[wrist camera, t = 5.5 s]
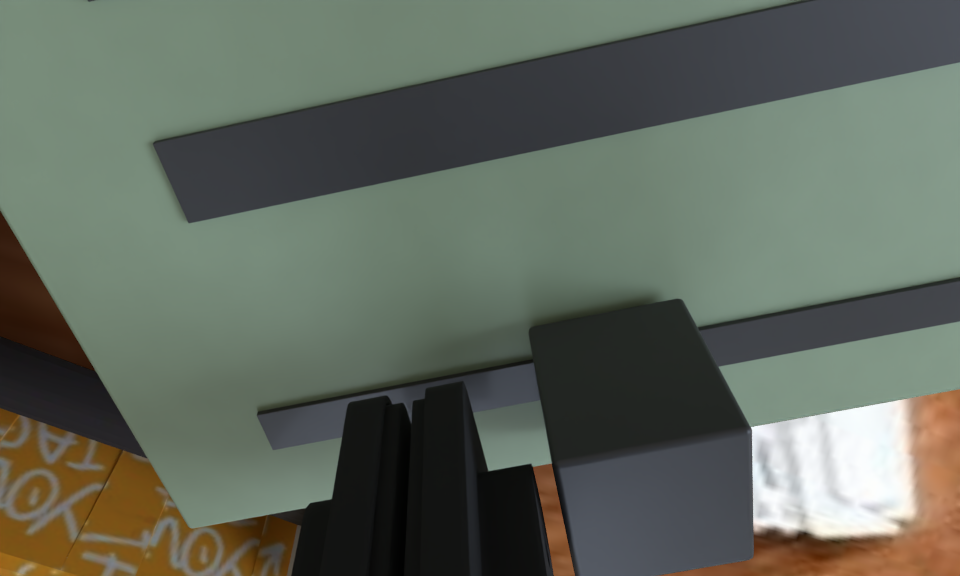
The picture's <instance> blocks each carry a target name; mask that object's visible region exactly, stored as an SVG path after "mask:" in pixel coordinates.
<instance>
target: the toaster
mask: <svg viewBox="0 0 960 576" xmlns="http://www.w3.org/2000/svg"><path fill="white" fill-rule="evenodd" d="M0 211H1V213H2V214H3V216H4V218H5V219H6V221H7V223H8V224H9V226H10V228H11V229H12V231H13V233H14V234H15V236H16V238H17V239H18V241H19V243H20V245H21V246H22V248H23V250H24V251H25V253H26V255H27V256H28V258H29V260H30V261H31V263H32V265H33V266H34V268H35V270H36V271H37V273H38V275H39V276H40V278H41V280H42V282H43V283H44V285H45V287H46V288H47V290H48V292H49V293H50V295H51V297H52V298H53V300H54V302H55V303H56V305H57V307H58V308H59V310H60V312H61V313H62V315H63V317H64V319H65V320H66V322H67V324H68V325H69V327H70V329H71V330H72V332H73V334H74V335H75V337H76V339H77V340H78V342H79V344H80V345H81V347H82V349H83V350H84V352H85V354H86V356H87V357H88V359H89V361H90V362H91V364H92V366H93V367H94V369H95V371H96V372H97V374H98V376H99V377H100V379H101V381H102V382H103V384H104V386H105V387H106V389H107V391H108V392H109V394H110V396H111V398H112V399H113V401H114V403H115V404H116V406H117V408H118V409H119V411H120V413H121V414H122V416H123V418H124V419H125V421H126V423H127V424H128V426H129V428H130V429H131V431H132V433H133V435H134V436H135V438H136V440H137V441H138V443H139V445H140V446H141V448H142V450H143V451H144V453H145V455H146V456H147V458H148V460H149V461H150V463H151V465H152V466H153V468H154V470H155V472H156V473H157V475H158V477H159V478H160V480H161V482H162V483H163V485H164V487H165V488H166V490H167V492H168V493H169V495H170V497H171V498H172V500H173V502H174V503H175V505H176V507H177V509H178V510H179V512H180V514H181V515H182V517H183V519H184V520H185V522H186V524H187V525H188V527H190V528H198V527H204V526H209V525H215V524H220V523H226V522H231V521H237V520H242V519H248V518H253V517H259V516H264V515H270V514H275V513H281V512H286V511H292V510H297V509H303V508H306V507H307V506H308V505H309V504H310V503H313V502H319V501H324V500H330V499H332V495H333V489H334V483H335V477H336V471H337V465H338V459H339V452H340V446H341V440H342V434H343V428H344V422H345V416H346V410H347V406H348V404H349V403H350V402H353V401H359V400H364V399H369V398H375V397H380V396H385V395H386V396H388V397H389V398H390V400H391V402H392V404H397V403H404V405H405V407H406V409H407V412H408V415H409V418H410V421H411V423H412V404H413V401H414V400H419V399H424V398H425V390H426V388H428V387H434V386H439V385H444V384H450V383H455V382H460V381H463V382H464V383H465V386H466V389H467V392H468V396H469V400H470V403H471V407H472V411H473V415H474V419H475V422H476V426H477V430H478V434H479V437H480V441H481V445H482V449H483V452H484V456H485V460H486V464H487V467H488V471H492V470H498V469H504V468H509V467H515V466H520V465H526V464H532V467H534V466H539V465H545V464H550V463H552V462H551V456H550V450H549V445H548V439H547V434H546V428H545V423H544V417H543V412H542V406H541V401H540V395H539V390H538V384H537V379H536V373H535V368H534V362H533V356H532V351H531V345H530V340H529V334H528V333H529V329H530V328H531V327H533V326H538V325H543V324H548V323H553V322H558V321H564V320H569V319H574V318H579V317H584V316H589V315H595V314H600V313H605V312H610V311H615V310H620V309H625V308H631V307H636V306H641V305H646V304H651V303H656V302H662V301H667V300H672V299H682V300H683V301H684V303H685V305H686V307H687V309H688V311H689V312H690V314H691V316H692V318H693V320H694V322H695V324H696V326H697V327H698V329H699V331H700V333H701V335H702V337H703V339H704V341H705V342H706V344H707V346H708V348H709V350H710V352H711V354H712V356H713V358H714V359H715V361H716V363H717V365H718V367H719V369H720V371H721V373H722V374H723V376H724V378H725V380H726V382H727V384H728V386H729V388H730V389H731V391H732V393H733V395H734V397H735V399H736V401H737V403H738V404H739V406H740V408H741V410H742V412H743V414H744V416H745V418H746V419H747V421H748V423H749V425H750V427H754V426H759V425H765V424H770V423H776V422H781V421H787V420H792V419H798V418H803V417H809V416H814V415H820V414H825V413H831V412H836V411H842V410H847V409H853V408H858V407H864V406H869V405H875V404H880V403H886V402H891V401H897V400H902V399H908V398H913V397H919V396H924V395H930V394H935V393H941V392H946V391H952V390H957V389H960V0H0Z"/></svg>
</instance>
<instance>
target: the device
mask: <svg viewBox="0 0 960 576" xmlns="http://www.w3.org/2000/svg"><path fill="white" fill-rule="evenodd" d="M305 509H306V508H303V509H297V510H292V511H286V512H281V513H275V514H270V515H264V516H259V517H253V518H248V519H242V520H237V521H231V522H226V523H220V524H215V525H209V526H204V527H198V528H190V527H188V525H187V524H186V522H185V520H184V519H183V517H182V515H181V514H180V512H179V510H178V509H177V507H176V505H175V503H174V502H173V500H172V498H171V497H170V495H169V493H168V492H167V490H166V488H165V487H164V485H163V483H162V482H161V480H160V478H159V477H158V475H157V473H156V472H155V470H154V468H153V466H152V465H151V463H150V461H149V460H148V458H147V456H146V455H145V453H144V451H143V450H142V448H141V446H140V445H139V443H138V441H137V440H136V438H135V436H134V435H133V433H132V431H131V429H130V428H129V426H128V424H127V423H126V421H125V419H124V418H123V416H122V414H121V413H120V411H119V409H118V408H117V406H116V404H115V403H114V401H113V399H112V398H111V396H110V394H109V392H108V391H107V389H106V387H105V386H104V384H103V382H102V381H101V379H100V377H99V376H98V374H97V372H95V371H92V370H90V369H87V368H84V367H82V366H79V365H76V364H73V363H71V362H68V361H65V360H63V359H60V358H57V357H55V356H52V355H49V354H46V353H44V352H41V351H38V350H36V349H33V348H30V347H28V346H25V345H22V344H19V343H17V342H14V341H11V340H9V339H6V338H3V337H1V336H0V576H291V574H292V569H293V564H294V559H295V554H296V549H297V544H298V539H299V534H300V529H301V524H302V520H303V516H304V513H305Z"/></svg>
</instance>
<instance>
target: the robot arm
mask: <svg viewBox="0 0 960 576" xmlns="http://www.w3.org/2000/svg"><path fill="white" fill-rule="evenodd" d="M291 576H554V575H553V569H552V563H551V556H550V550H549V544H548V539H547V533H546V528H545V522H544V517H543V512H542V507H541V502H540V497H539V493H538V488H537V484H536V479H535V475H534V471H533V467H532V464H526V465H520V466H515V467H509V468H504V469H498V470H492V471H488V467H487V464H486V460H485V456H484V452H483V449H482V445H481V441H480V437H479V434H478V430H477V426H476V422H475V419H474V415H473V411H472V407H471V403H470V400H469V396H468V392H467V389H466V386H465V383H464V382H463V381H460V382H455V383H450V384H444V385H439V386H434V387H428V388H426V390H425V398H424V399H419V400H414V401H413V404H412V423H411V421H410V418H409V415H408V412H407V409H406V407H405V405H404V403H397V404H392V402H391V400H390V398H389V397H388V396H386V395H385V396H380V397H375V398H369V399H364V400H359V401H353V402H350V403H349V404H348V406H347V410H346V416H345V422H344V428H343V434H342V440H341V446H340V452H339V459H338V465H337V471H336V477H335V483H334V489H333V495H332V499H330V500H324V501H319V502H313V503H310V504H309V505H308V506H307V507H306V509H305V513H304V516H303V520H302V524H301V529H300V534H299V539H298V544H297V549H296V554H295V559H294V564H293V569H292V574H291Z"/></svg>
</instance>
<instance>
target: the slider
mask: <svg viewBox="0 0 960 576" xmlns="http://www.w3.org/2000/svg"><path fill="white" fill-rule="evenodd" d="M528 334H529V340H530V345H531V351H532V356H533V362H534V368H535V373H536V379H537V384H538V390H539V395H540V401H541V406H542V412H543V417H544V423H545V428H546V434H547V439H548V445H549V450H550V456H551V462H552V467H553V472H554V476H555V481H556V486H557V491H558V496H559V500H560V505H561V510H562V515H563V520H564V524H565V529H566V534H567V539H568V544H569V548H570V553H571V558H572V563H573V567H574V572H575V576H658V575H664V574H669V573H675V572H681V571H687V570H693V569H699V568H705V567H710V566H716V565H722V564H728V563H734V562H740V561H746V560H750V559H751V558H753V554H754V543H753V480H752V429H751V427H750V425H749V423H748V421H747V419H746V418H745V416H744V414H743V412H742V410H741V408H740V406H739V404H738V403H737V401H736V399H735V397H734V395H733V393H732V391H731V389H730V388H729V386H728V384H727V382H726V380H725V378H724V376H723V374H722V373H721V371H720V369H719V367H718V365H717V363H716V361H715V359H714V358H713V356H712V354H711V352H710V350H709V348H708V346H707V344H706V342H705V341H704V339H703V337H702V335H701V333H700V331H699V329H698V327H697V326H696V324H695V322H694V320H693V318H692V316H691V314H690V312H689V311H688V309H687V307H686V305H685V303H684V301H683V300H682V299H672V300H667V301H662V302H656V303H651V304H646V305H641V306H636V307H631V308H625V309H620V310H615V311H610V312H605V313H600V314H595V315H589V316H584V317H579V318H574V319H569V320H564V321H558V322H553V323H548V324H543V325H538V326H533V327H531V328H530V329H529V333H528Z"/></svg>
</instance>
